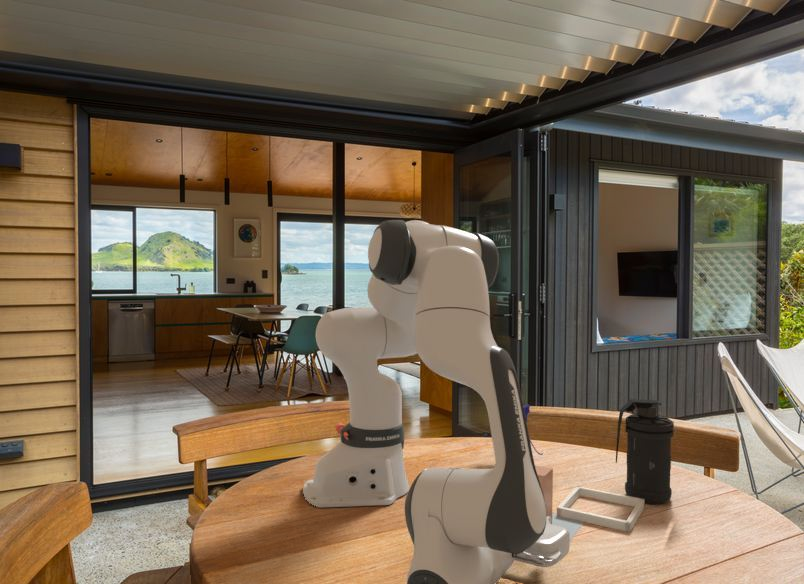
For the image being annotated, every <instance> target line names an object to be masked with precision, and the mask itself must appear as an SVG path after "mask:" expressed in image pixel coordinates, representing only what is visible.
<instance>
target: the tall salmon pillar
mask: <svg viewBox="0 0 804 584" xmlns="http://www.w3.org/2000/svg"><path fill="white" fill-rule="evenodd" d="M535 468H536V472H537V475H538V478H539V481H540V485H541V488H542V492H543V496H544V500H545V506H546V516H549V517H551V524H552V513H553V499H554V497H553V494H554V493H553V487H554V482H553V481H554V468H552V467H551V468H550V467H547V466H546V467H545V466H540V465H535Z"/></svg>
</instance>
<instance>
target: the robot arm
mask: <svg viewBox="0 0 804 584" xmlns="http://www.w3.org/2000/svg"><path fill="white" fill-rule="evenodd" d="M499 257H500V255H499V251H498V247H497V246H496V244H495V242H494V241H493V240H492V239H490V238H489V237H488V236H485V235H483V234H481V233H478V232H469V231H466V230H461V229H459V228H455V227H451V226H447V225H443V224H438V225H437V224H433V223H432V224H430V223H429V222H426V221H423V220H417V219H414V220H409V221H405V220H403V219H389V220H384V221H382V222H381V223H380V224H379V225H378V226H377V227H376V228H375V230H374V231H373V234H372V236H371V238H370V240H369V243H368V247H367V258H368V259H367V260H368V267H369V271H370V272H371V277H370V279H369V282H368V284H367V290H366V291H367V297H368V301H369V303H370V304H371V306H370V307H366V306H365V307H363V306H362V307H344V308H339V309H336V310H332V311H328V312H325V313H324V314H323V315H322V316H321V317H320V319H319V320H318V323H317V325H316V329H315V341H316V345H317V348H318V349H319V351H320V352H321V353H322V355H323V356H324V357H325V358H327V359H328V360H330V361H331V362H332V363H333V364H334V365H335V366H336V367H337V368H338V370H340V372H341V374H342V376H343V378H344V380H345V382H346V386H347V391H348V400H349V401H348V402H349V422H348V423H346V425H344V423H342V422H338V423H336V425H335V431H336V432H337V433H338V434H339V435H340V442H339V443H337V444H336V445H335V446H333V447H332V448H331V449H330V450H328V451H327V452H326V453H325V454H324V455H322V456H321V457H320V458H319V459H318V460H317V461H316V465H315V468H314V472H313V478H312V479H308V480H306V482H305V483H304V484H303V486H302V487H303V488H302V495H303V494H304V496H303V498H304V497H305V498H304V500H305V501H306V500H307V501H308V502H309V503H308V502H307V501H306V502H307V503H308V504H310V503H311V504H312V505H311V504H310V505H311V506H313V505H314V507H315V506H316V508H339V507H341V508H342V507H364V506H365V507H368V506H389V505H392V504H393V503H394V502H395V501H396V500H397V499H398V498H401V497H403V496H404V495H406V497H405V501H404V514H405V515H404V517H405V518H404V519H405V524H406V528H407V530H408V531H407V532H408V533H409V537H410V539H411V541H412V544H413V556H412V561H411V563H410V566H409V570H408V573H407V577H406V584H496V583H497V582H498V581H499V580H500V579H501V577H502V576H504V574H505V573H506V572H507V571H508V570H509V569H510V568H511V566H512V565H513V564H514V562H515V561H516V562H517V561H518V562H522V563H524V564H529V565H532V566H535V567H541V568H551V567H553V566H555V565H557V564H558V563H559V562H560V561H562V560H563V559H564V558H565V557H566V556H567V555H568V554H569V551H570V543H571V542H570V541H571V540H570V535H569V532H568V530H567V529H566V528H564V527H561V526H557V525H552V524H551V517H549V516H546V506H545V500H544V496H543V492H542V488H541V485H540V481H539V478H538V475H537V472H536V468H535V460H534V455H533V450H532V444H531V443H530V440H531V438H530V434H529V429H528V423H527V422H526V417H525V412H524V402H523V397H522V392H521V387H520V383H519V379H518V375H517V371H516V368H515V365H514V362H513V360H512V357H511V356H510V354H509V353H508V351H507V350H505V349H504V348H502V347H500V346H498V344H497V342H496V340H495V339H494V335H493V333H492V329H491V319H490V318H491V314H490V313H491V311H490V309H491V308H490V295H489V288H490V287H492V285H493V284H494V282H495V280H496V278H497V275H498V272H499V266H500V258H499ZM415 355H418V357H419V358H420V360H421V362H423V364H425V365H424V366H426V367H427V368H428V369H429V370H431V371H432V372H433V373H435V374H437V375H439V376H440V377H443V378H445V379H448V380H451V381H453V382H456V383H459V384H461V385H463V386H467V387H469V388H471V389H473V390H474V391H475V392H477V394H479V396H480V397H481V398H482V399H483V401H484V404H485V407H486V410H487V415H488V423H489V427H490V434H491V440H492V447H493V452H494V459H495V464H494V467H493V468H462V467H426V468H424V469H422V471H421V472H420V473H418V475H417V476H416V477H415V479H414V480H413V482H412V483H411V486H410V485H409V482H408V481H409V480H408V478H407V474H406V468H405V460H404V459H405V458H404V451H403V449H404V448H405V446H404V445H405V426H404V425H405V423H404V422H403V420H402V418H403V416H402V413H403V411H402V409H403V408H402V407H403V402H402V401H403V398H402V397H403V395H402V394H403V392H402V387H400V384H399V383H398V382H397V381H396V380H395V379H393V378H392V377H390V376H387V375H386V374H384V373H381V372H380V370H379V367H378V360H382V359H383V360H384V359H394V358H396V359H397V358H407V357H410V356H415Z"/></svg>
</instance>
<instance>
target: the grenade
mask: <svg viewBox="0 0 804 584" xmlns="http://www.w3.org/2000/svg"><path fill="white" fill-rule="evenodd" d="M661 403H662V402H660V401H659V400H652V399H637V398H635V399H633V398H631V399H630V400H629V401H627V403H625V404H624V405H623V406H622V407H621V408H620V409H619V414H618V421H617V431H616V432H617V433H616V446H615V448H616V449H615V451H616V452H615V463H616V464H617V463H618V457H619V456H618V452H619V445H620V444H619V443H620V435H621V424H622V420H623V416H624V413H625V411H626V412H627V413H628V414H630V415H629V416H626V417H625V433H627V437H626V438H627V442H626V443H627V445H626V446H627V449H626V482H625V483H624V490H625V494H626V496H631V497H636V498H641V499H645V504H652V505H653V504H654V505H655V504H664V503H666V502H668V501H670V499H671V498H672V491H673V490H672V488H671V469H672V453H671V450H672V437H673V436H674V432H675V431H674V428H675V427H674V426H675V425H674V424H675V423H674V421H673V420H671V419H670V418H669V417H667V416H664V415H663V416H660V415H659V414H658V412H657V411H658V405H659V406H662V404H661Z"/></svg>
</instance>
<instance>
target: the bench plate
mask: <svg viewBox="0 0 804 584" xmlns="http://www.w3.org/2000/svg"><path fill="white" fill-rule="evenodd" d="M584 524H585V522H584V521H579V520H575V519H570V518H566V517H561V516H557V512H552V525H557V526H561V527H564V528H566V529H567V530H568V532H569V535H570V541H571V540H573V538H574V537H575V535H576V534H578V531H580V529H581V528H582V527H583V525H584Z"/></svg>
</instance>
